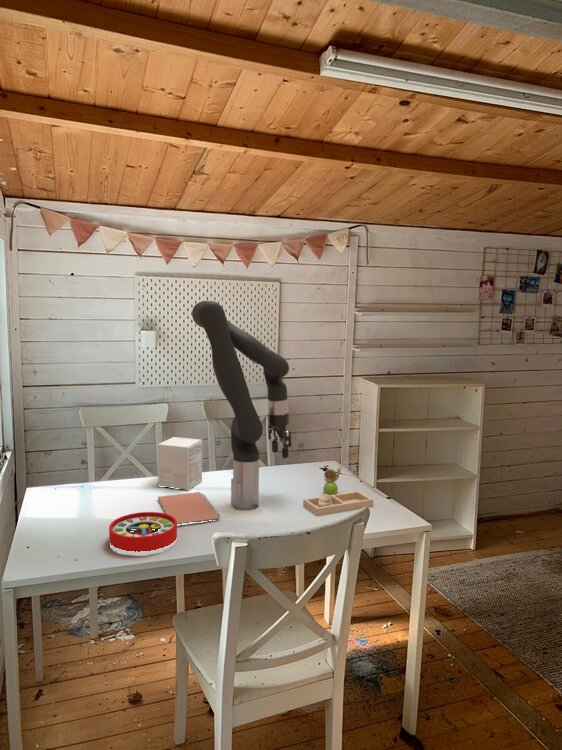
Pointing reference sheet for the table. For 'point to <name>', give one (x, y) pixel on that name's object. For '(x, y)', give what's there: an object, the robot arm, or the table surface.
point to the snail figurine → (331, 481)
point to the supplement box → (180, 463)
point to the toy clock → (143, 531)
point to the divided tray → (339, 503)
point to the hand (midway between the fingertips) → (280, 454)
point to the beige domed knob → (325, 500)
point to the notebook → (189, 507)
